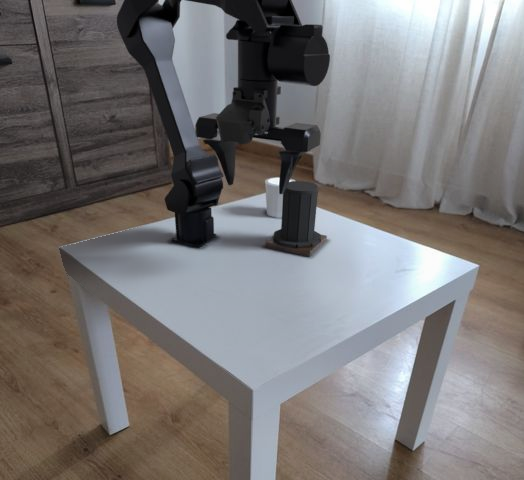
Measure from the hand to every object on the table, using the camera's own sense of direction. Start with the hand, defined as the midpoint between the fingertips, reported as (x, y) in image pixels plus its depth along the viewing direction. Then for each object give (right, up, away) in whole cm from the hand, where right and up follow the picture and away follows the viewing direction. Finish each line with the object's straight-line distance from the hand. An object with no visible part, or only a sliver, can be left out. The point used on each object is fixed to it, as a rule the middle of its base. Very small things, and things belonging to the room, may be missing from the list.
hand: (255, 189), depth 79 cm
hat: (+8, -5, +15) cm, 17 cm away
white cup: (+5, +4, +29) cm, 30 cm away
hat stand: (+8, -5, +15) cm, 18 cm away
